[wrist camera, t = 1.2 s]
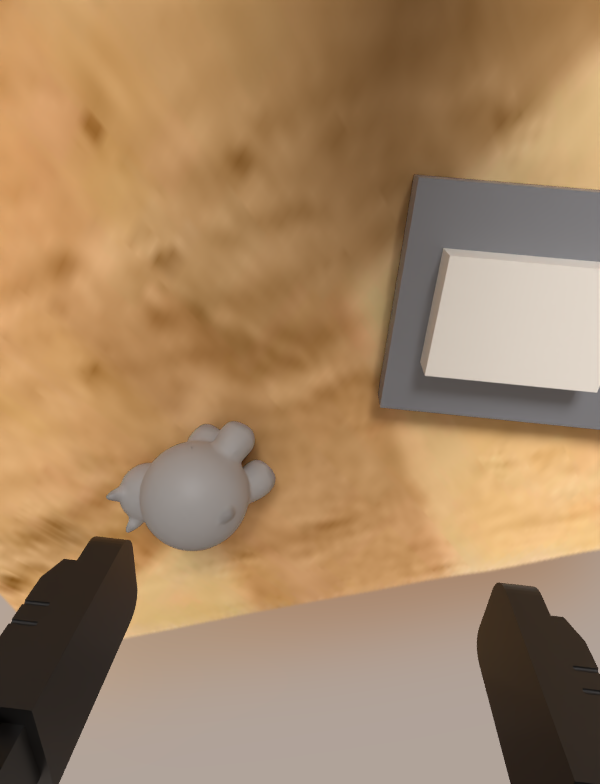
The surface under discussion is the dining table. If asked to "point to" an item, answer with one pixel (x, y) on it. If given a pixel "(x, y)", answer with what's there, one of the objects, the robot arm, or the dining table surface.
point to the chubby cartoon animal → (196, 488)
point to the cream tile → (515, 321)
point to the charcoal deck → (487, 234)
